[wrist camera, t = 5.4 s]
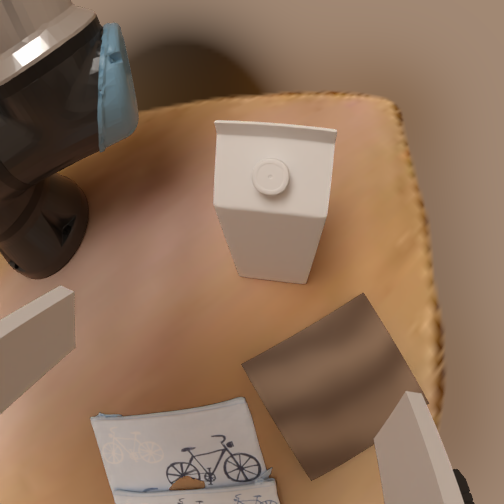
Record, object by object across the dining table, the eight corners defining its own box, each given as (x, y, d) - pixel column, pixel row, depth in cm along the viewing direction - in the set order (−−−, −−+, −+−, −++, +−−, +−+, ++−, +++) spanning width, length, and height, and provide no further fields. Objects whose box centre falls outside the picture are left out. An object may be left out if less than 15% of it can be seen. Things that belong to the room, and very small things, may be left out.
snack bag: (139, 554, 22) (132, 561, 20) (93, 411, 29) (83, 412, 27) (297, 545, 22) (298, 554, 20) (256, 389, 30) (254, 390, 28)
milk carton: (249, 217, 36) (226, 85, 19) (311, 224, 35) (336, 92, 18) (238, 276, 34) (199, 168, 16) (305, 285, 33) (337, 181, 15)
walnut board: (242, 364, 30) (241, 364, 29) (359, 296, 32) (363, 292, 31) (309, 476, 25) (311, 481, 24) (422, 402, 27) (428, 403, 26)
